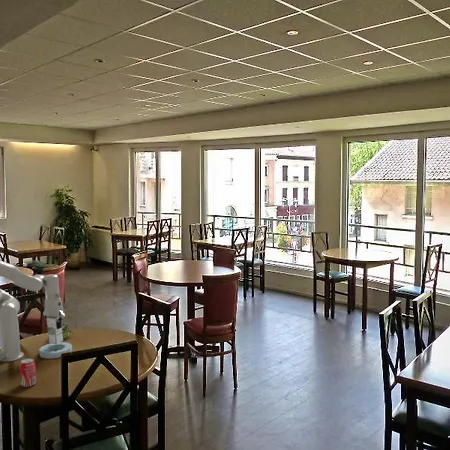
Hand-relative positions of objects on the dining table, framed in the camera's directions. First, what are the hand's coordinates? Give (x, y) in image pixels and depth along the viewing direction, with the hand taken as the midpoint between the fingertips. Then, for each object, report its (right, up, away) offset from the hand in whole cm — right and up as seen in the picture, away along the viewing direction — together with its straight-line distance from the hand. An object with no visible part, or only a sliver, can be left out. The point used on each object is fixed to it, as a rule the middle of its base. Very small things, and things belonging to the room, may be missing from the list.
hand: (54, 327), depth 269 cm
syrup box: (0, -9, +1) cm, 9 cm away
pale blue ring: (0, -15, +1) cm, 15 cm away
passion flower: (-4, -12, +28) cm, 31 cm away
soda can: (+2, -19, -40) cm, 44 cm away
